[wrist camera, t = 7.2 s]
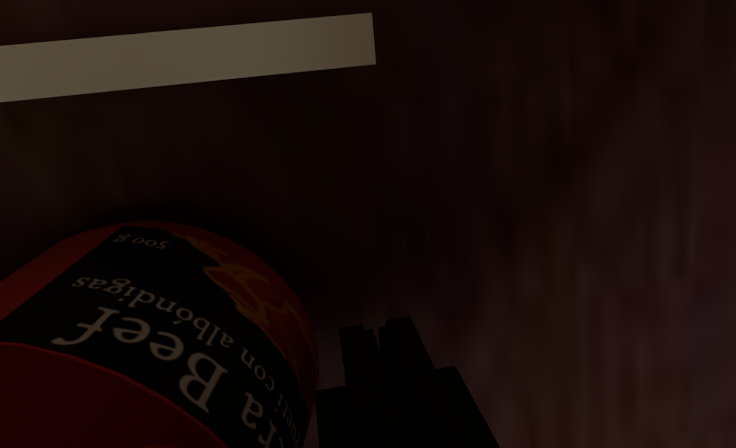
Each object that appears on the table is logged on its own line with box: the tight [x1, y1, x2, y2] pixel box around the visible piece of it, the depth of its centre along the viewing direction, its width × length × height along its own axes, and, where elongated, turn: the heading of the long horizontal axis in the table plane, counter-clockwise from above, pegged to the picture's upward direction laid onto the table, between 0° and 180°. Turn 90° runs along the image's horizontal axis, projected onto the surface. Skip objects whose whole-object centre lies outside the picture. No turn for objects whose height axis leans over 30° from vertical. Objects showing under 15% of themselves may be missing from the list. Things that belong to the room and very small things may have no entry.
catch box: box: [0, 13, 376, 102], centre depth 12 cm, size 15×13×4 cm
